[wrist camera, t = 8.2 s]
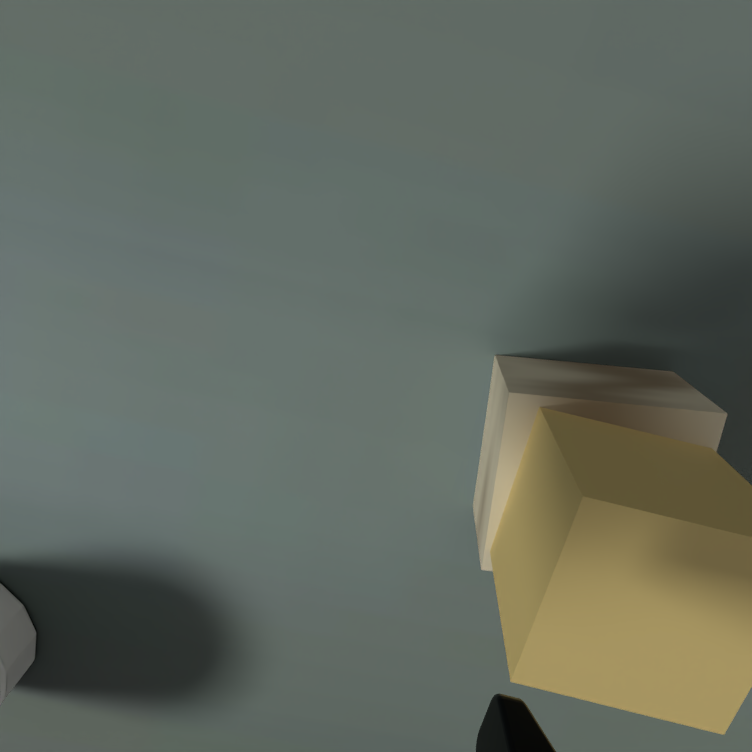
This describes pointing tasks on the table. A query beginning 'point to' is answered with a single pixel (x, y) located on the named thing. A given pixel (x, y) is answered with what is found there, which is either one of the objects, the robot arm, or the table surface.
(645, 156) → the table surface
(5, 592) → the white cup
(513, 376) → the birch base block
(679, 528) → the ochre block
